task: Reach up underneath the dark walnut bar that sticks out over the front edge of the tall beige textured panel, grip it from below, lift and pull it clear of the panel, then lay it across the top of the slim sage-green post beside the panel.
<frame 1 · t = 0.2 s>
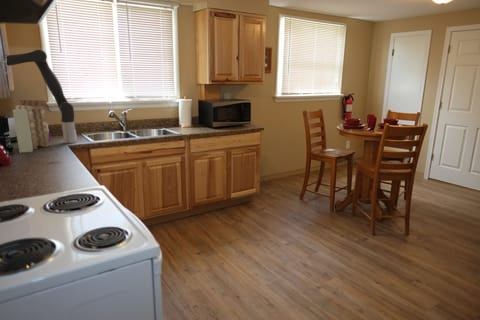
sage post: (26, 151, 237), on the countertop
candy bar box: (42, 142, 273), on the countertop
walnut bar: (33, 105, 244), point 32 cm above the countertop, touching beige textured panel
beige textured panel: (35, 146, 253), on the countertop
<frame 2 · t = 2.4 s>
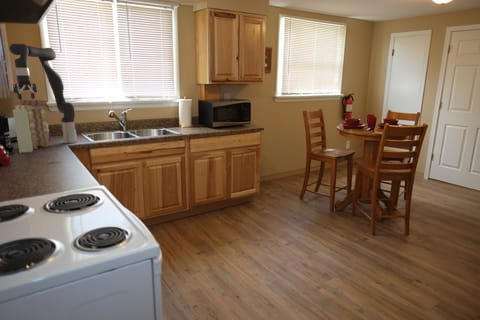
hand: (26, 99, 224), 38 cm above the countertop, tool pointing down, fingers open, 8 cm apart
nothing on the countertop moved.
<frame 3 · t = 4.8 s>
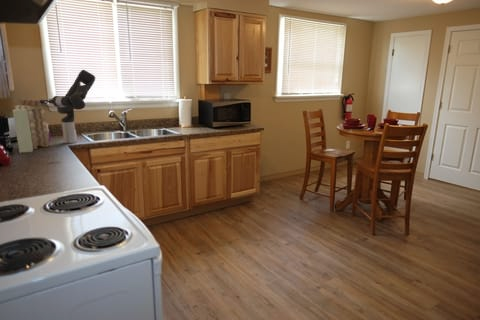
hand: (46, 101, 230), 36 cm above the countertop, tool horizontal, fingers open, 8 cm apart
nothing on the countertop moved.
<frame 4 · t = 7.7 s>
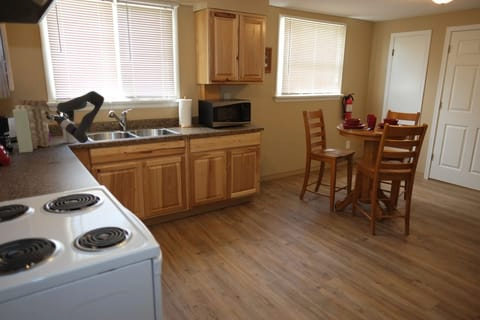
hand: (51, 111, 236), 28 cm above the countertop, tool pointing upward, fingers open, 8 cm apart
nothing on the countertop moved.
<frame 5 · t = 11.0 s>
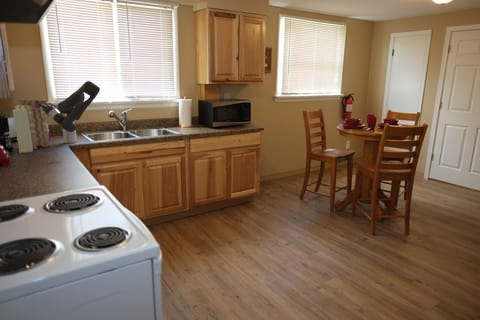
hand: (39, 101, 240), 35 cm above the countertop, tool pointing upward, fingers closed on walnut bar, 4 cm apart
walnut bar: (33, 105, 244), point 32 cm above the countertop, touching gripper, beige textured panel
everything else where it was.
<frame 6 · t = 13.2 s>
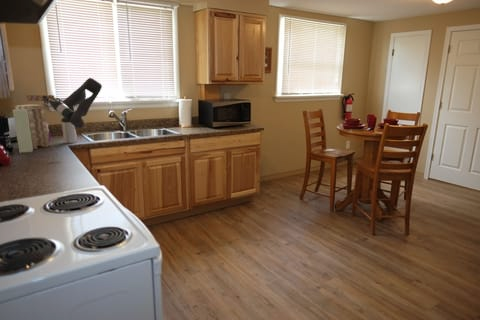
hand: (46, 96, 234), 39 cm above the countertop, tool pointing upward, fingers closed on walnut bar, 4 cm apart
walnut bar: (40, 100, 238), point 36 cm above the countertop, touching gripper
everything else where it was.
when the fingers open (34 cm above the countertop, at t = 15.5 s): walnut bar stays where it is, resting on sage post.
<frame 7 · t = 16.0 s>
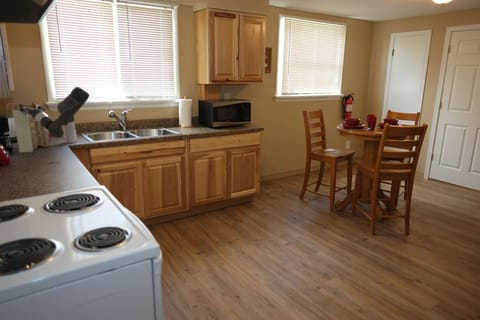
hand: (26, 104, 226), 34 cm above the countertop, tool pointing upward, fingers open, 8 cm apart
walnut bar: (19, 109, 230), point 30 cm above the countertop, touching sage post
everything else where it was.
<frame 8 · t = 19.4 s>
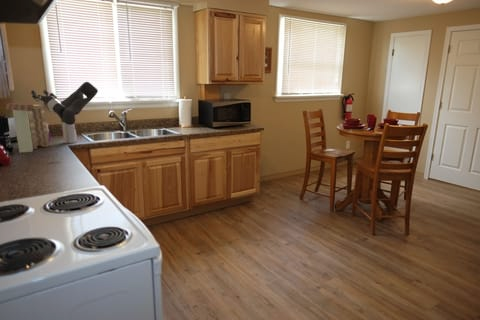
hand: (38, 91, 223), 43 cm above the countertop, tool pointing upward, fingers open, 8 cm apart
nothing on the countertop moved.
at the end: walnut bar inside the target area on the sage post (0.1 cm from its centre), point 30.0 cm above the sage post's base; walnut bar touching sage post; the gripper is holding nothing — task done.
